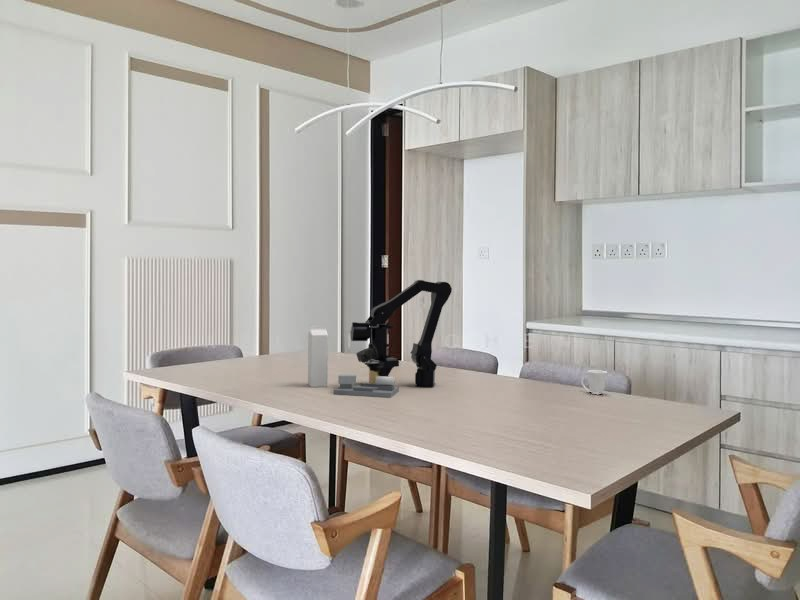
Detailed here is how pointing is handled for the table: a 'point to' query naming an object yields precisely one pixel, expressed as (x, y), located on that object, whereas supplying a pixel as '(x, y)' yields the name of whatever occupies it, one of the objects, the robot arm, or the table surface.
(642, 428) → the table surface
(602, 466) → the table surface
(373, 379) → the gold square block
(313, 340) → the milk
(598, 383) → the cup
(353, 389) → the grey stepped stand
